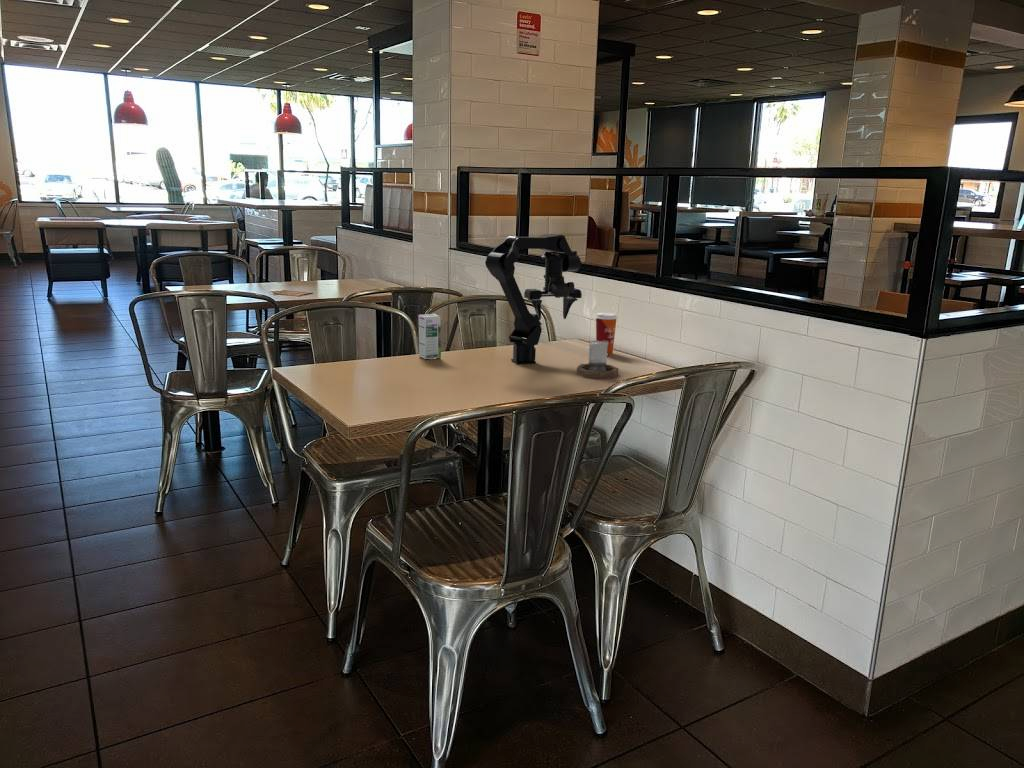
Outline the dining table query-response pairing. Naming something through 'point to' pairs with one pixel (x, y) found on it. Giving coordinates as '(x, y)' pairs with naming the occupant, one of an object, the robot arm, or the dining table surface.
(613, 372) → the bore ring
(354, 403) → the dining table surface
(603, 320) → the paper cup
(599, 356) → the metal tumbler
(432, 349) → the syrup box
